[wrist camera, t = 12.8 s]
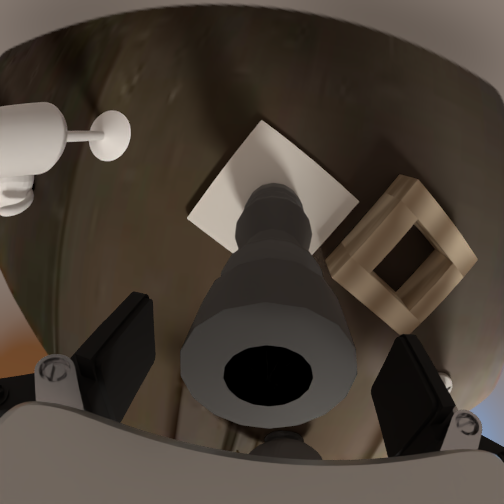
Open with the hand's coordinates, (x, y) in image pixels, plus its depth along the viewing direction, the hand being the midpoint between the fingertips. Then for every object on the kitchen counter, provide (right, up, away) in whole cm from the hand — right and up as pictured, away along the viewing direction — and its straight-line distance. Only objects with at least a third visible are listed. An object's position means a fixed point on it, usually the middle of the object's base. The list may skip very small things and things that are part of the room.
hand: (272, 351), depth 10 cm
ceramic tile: (+2, +9, +23) cm, 24 cm away
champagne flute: (-19, +18, +21) cm, 34 cm away
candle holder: (+2, +8, +22) cm, 24 cm away
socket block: (+18, +4, +23) cm, 29 cm away
